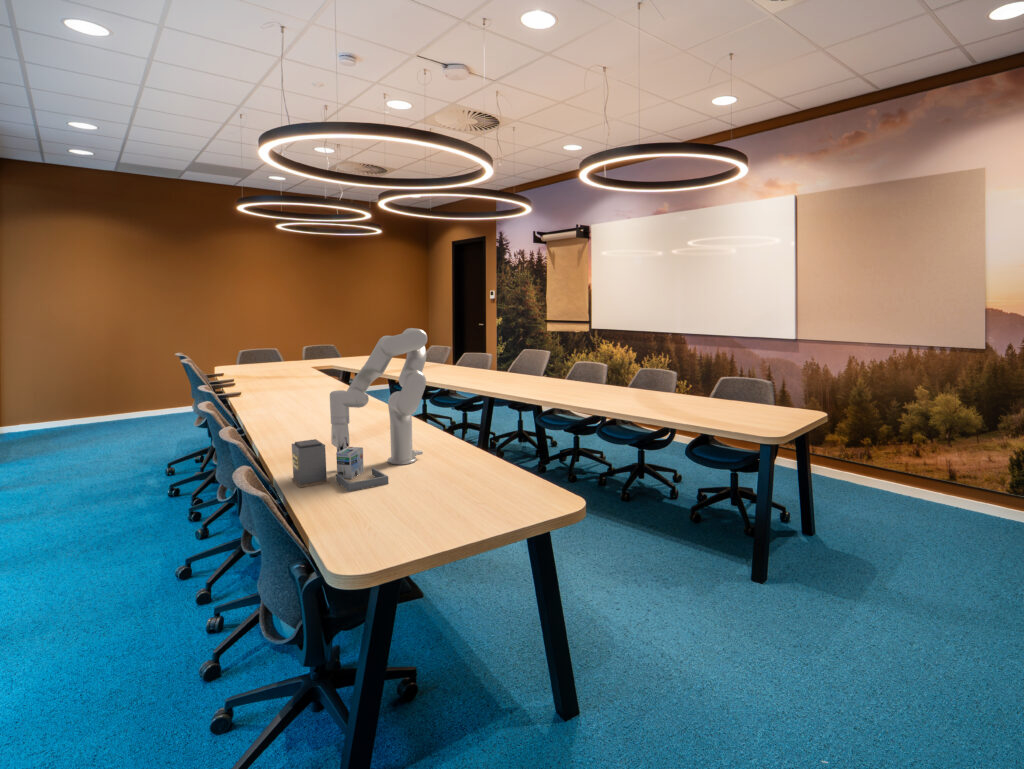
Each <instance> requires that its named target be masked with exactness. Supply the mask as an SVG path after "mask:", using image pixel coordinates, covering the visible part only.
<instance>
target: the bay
mask: <svg viewBox="0 0 1024 769" xmlns="http://www.w3.org/2000/svg"><path fill="white" fill-rule="evenodd" d="M371 476H372V478H369V479H363V480H357V481H352V482H349V480H348V479H344V478H343V477H341V476H340V475H339V474H337V473H336V474H335V482H336V483H337V482H338V483H339V485H340V486H341V485H342V486H343V487H342V486H341V487H342V488H344V489H345V488H346V489H347V490H346V489H345V490H346V491H347V492H353V491H352V490H354V491H358V489H359V490H363V489H362V488H364V489H368V488H367V487H370V488H373V487H372V486H375V487H378V485H380V486H384V485H383V484H385V485H388V484H389V476H388V475H387V474H385V473H384V472H382V471H380V470H378V469H377V468H375V467H371ZM374 476H375V477H374ZM373 477H374V478H373ZM338 483H337V484H338Z"/></svg>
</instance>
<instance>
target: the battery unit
mask: <svg viewBox="0 0 1024 769" xmlns="http://www.w3.org/2000/svg"><path fill="white" fill-rule="evenodd" d="M326 455H327V454H326V444H324V443H323V442H321V441H319V440H317V439H316V438H314V439H306V440H300V441H294V443H291V458H292V476H293V477H290V478H291V481H292V482H293V483H294V485H296V486H297V487H298V488H299V489H302V488H308V486H309V487H314V486H318V485H324V483H325V484H329V483H330V480H329V479H328V477H327V474H328V473H327V459H326V458H327V457H326Z"/></svg>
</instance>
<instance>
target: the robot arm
mask: <svg viewBox="0 0 1024 769" xmlns="http://www.w3.org/2000/svg"><path fill="white" fill-rule="evenodd" d="M427 343H428V335H427V333H426V332H425V331H424V330H423V329H420V328H415V327H414V328H413V327H410V328H406V329H404V330H403V331H402V333H400V334H396V335H384V336H382V337H380V338H379V340H378V341H377V343H376V345H375V347H374V348H373V350H372V352H371V353H370V355H369V357H368V358H367V360H366V361H365V363H364V365H363V366H362V367H361V369H360V370H359V371H358V372H357V374H356V375H355V377H354V378H353V379H352V381H351V383H350V385H349V387H348V388H347V390H333V391H331V392H329V406H330V407H329V410H330V424H331V428H330V429H331V431H330V432H331V434H330V436H331V437H330V438H331V440H330V441H331V442H330V443H331V445H332V446H333V447H336V453H337V452H339V451H341V450H343V449H345V448H347V447H350V431H349V429H350V428H349V424H350V422H351V421H350V408H355V409H357V408H358V409H359V408H363V407H366V405H367V404H368V403H369V399H370V398H369V395H368V393H367V391H368V389H369V387H370V386H371V384H372V383H373V382H374V381H375V380H377V379H379V378H380V377H382V375H384V373H385V371H386V370H387V367H388V366H389V364H390V362H391V360H392V358H393V357H397V356H401V355H404V354H406V358H405V361H404V364H403V367H402V369H401V371H400V374H399V377H398V384H399V385H400V387H401V390H399V391H398V390H397V391H394V392H392V393H391V394H390V396H389V398H388V402H387V405H388V406H387V407H388V412H389V421H390V422H389V424H390V425H389V429H390V431H389V433H390V457H388V458H387V463H388V464H391V465H409V464H413V463H415V462H416V461H417V456H420V455H423V454H424V452H423V450H422V449H420V450H414V449H413V420H412V415H414V414H415V413H416V412H417V410H418V407H419V406H420V402H421V400H422V398H423V395H424V392H425V390H426V385H427V377H426V376H425V374H424V373H423V371H424V367H425V364H426V361H427V349H426V344H427Z"/></svg>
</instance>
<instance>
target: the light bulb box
mask: <svg viewBox="0 0 1024 769" xmlns="http://www.w3.org/2000/svg"><path fill="white" fill-rule="evenodd" d="M335 455H336V474H339V475H340V476H341V477H343V478H348V479H347V480H353V479H354V477H355V478H356V477H358V476H360V475H362V474H363V473H364V470H365V469H364V448H363V447H361V446H360V447H359V446H348V447H347V448H345V449H343V450H341V451H339V452H337V451H336V454H335ZM362 472H363V473H362ZM359 474H360V475H359ZM357 475H358V476H357ZM352 478H353V479H352Z"/></svg>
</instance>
